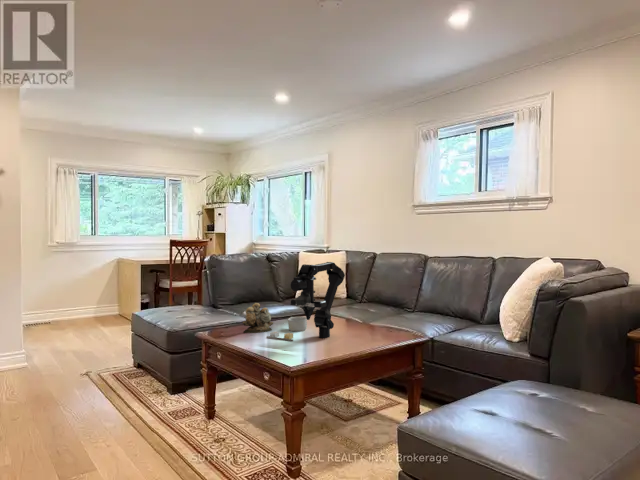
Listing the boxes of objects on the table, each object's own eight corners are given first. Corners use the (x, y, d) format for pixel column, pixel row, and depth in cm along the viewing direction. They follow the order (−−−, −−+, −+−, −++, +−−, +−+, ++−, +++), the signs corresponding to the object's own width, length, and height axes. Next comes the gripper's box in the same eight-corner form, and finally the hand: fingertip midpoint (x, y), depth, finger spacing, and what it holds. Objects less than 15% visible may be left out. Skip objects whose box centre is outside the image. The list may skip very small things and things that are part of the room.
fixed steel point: (274, 335, 241) (274, 331, 241) (279, 336, 239) (279, 332, 239) (268, 338, 236) (268, 333, 236) (272, 338, 234) (272, 334, 234)
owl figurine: (246, 336, 244) (245, 305, 244) (238, 333, 255) (238, 303, 254) (276, 333, 253) (275, 302, 253) (268, 329, 264) (267, 300, 263)
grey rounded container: (309, 333, 252) (309, 319, 252) (291, 335, 248) (291, 320, 248) (301, 328, 265) (301, 315, 265) (283, 330, 261) (283, 316, 261)
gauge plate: (277, 335, 246) (277, 331, 246) (306, 339, 237) (306, 335, 237) (262, 341, 234) (262, 336, 234) (292, 345, 225) (292, 340, 225)
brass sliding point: (288, 337, 236) (288, 332, 236) (293, 338, 235) (293, 333, 235) (282, 339, 232) (282, 334, 232) (287, 340, 230) (287, 335, 230)
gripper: (283, 289, 225) (283, 320, 225) (315, 292, 215) (315, 324, 215) (296, 287, 234) (296, 317, 235) (326, 289, 225) (327, 320, 225)
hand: (308, 319), depth 227 cm, fingers closed
